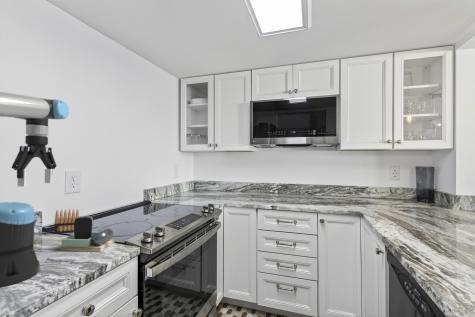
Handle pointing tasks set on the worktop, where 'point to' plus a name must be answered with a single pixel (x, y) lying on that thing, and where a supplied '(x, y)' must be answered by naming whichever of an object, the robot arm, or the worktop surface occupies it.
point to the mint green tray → (89, 242)
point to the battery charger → (83, 227)
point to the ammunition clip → (65, 222)
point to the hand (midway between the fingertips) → (35, 184)
